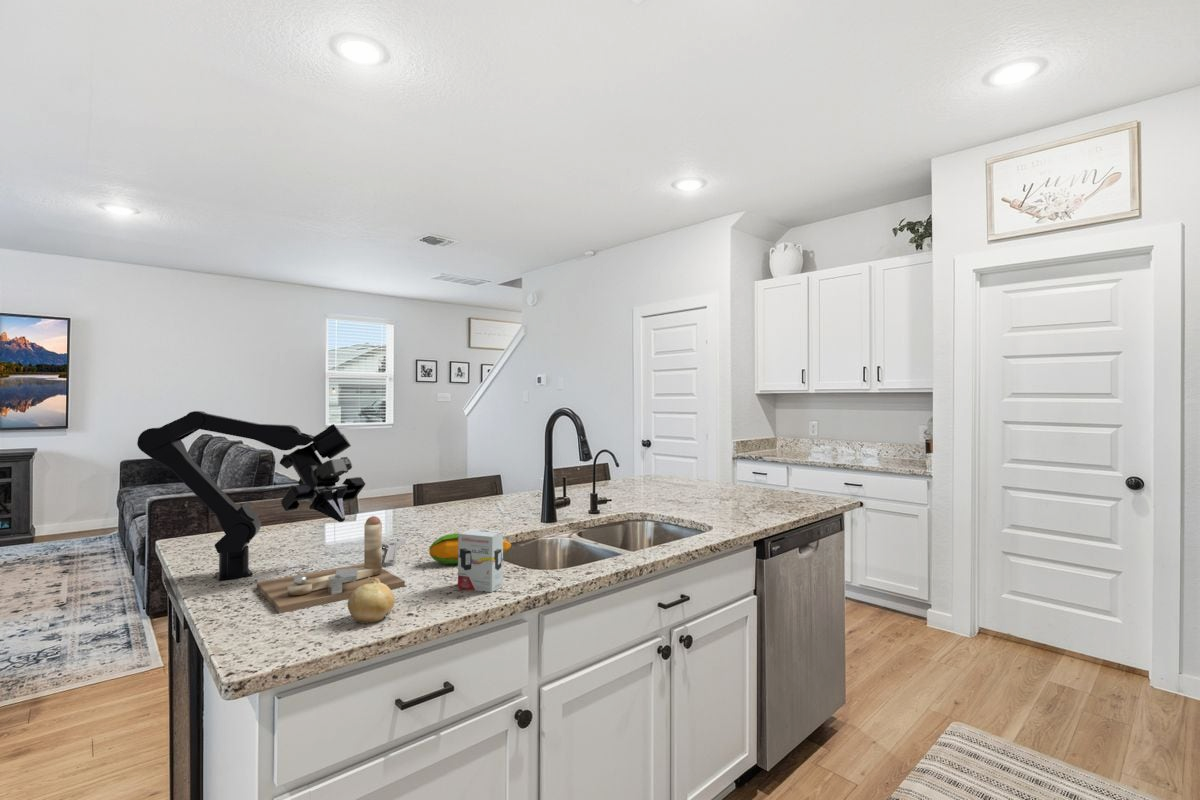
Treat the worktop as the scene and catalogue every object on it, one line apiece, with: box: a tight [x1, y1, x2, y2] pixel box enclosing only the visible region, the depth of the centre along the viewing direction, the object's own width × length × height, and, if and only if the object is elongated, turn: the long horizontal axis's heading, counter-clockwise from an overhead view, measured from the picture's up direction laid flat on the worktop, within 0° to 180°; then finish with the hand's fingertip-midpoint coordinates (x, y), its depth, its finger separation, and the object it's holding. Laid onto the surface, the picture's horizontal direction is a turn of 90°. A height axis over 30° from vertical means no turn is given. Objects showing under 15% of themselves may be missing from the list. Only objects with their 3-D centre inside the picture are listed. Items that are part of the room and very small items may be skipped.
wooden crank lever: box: [288, 516, 383, 595], centre depth 122 cm, size 20×4×13 cm, turn 143°
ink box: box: [457, 528, 504, 593], centre depth 123 cm, size 9×5×12 cm, turn 70°
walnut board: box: [256, 563, 406, 614], centre depth 123 cm, size 20×24×1 cm
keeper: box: [294, 568, 357, 595], centre depth 117 cm, size 8×12×3 cm, turn 131°
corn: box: [428, 532, 512, 565], centre depth 144 cm, size 7×8×20 cm
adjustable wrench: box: [382, 538, 407, 567], centre depth 151 cm, size 25×6×2 cm, turn 13°
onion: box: [346, 577, 395, 624], centre depth 105 cm, size 8×8×7 cm
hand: (342, 520), depth 132 cm, fingers closed
